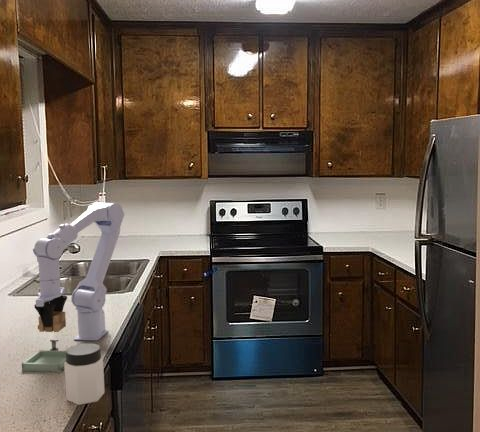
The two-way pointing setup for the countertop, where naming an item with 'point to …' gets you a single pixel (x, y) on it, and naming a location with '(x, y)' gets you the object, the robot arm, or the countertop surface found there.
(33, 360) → the tray
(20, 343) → the countertop surface
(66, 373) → the jar
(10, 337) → the countertop surface
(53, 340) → the lever
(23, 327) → the countertop surface
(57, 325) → the wooden blocks
